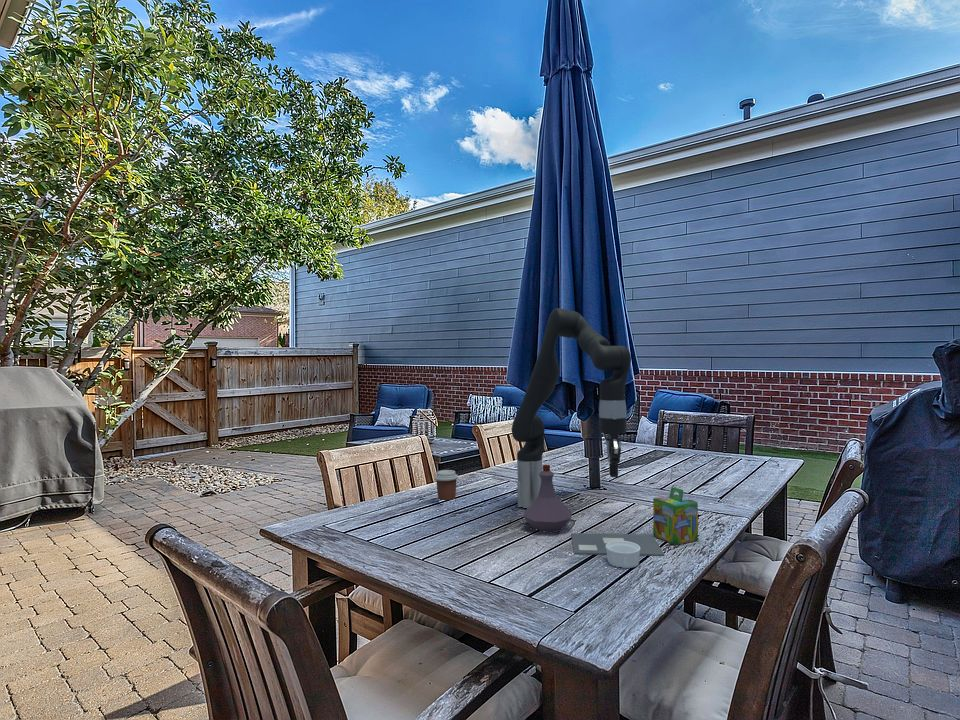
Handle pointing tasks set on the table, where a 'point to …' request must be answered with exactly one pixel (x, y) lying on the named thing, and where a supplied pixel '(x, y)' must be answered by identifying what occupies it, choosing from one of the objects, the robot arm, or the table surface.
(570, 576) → the table surface
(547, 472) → the flask
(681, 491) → the chalk box
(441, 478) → the coffee cup
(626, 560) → the ramekin
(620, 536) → the label placard
